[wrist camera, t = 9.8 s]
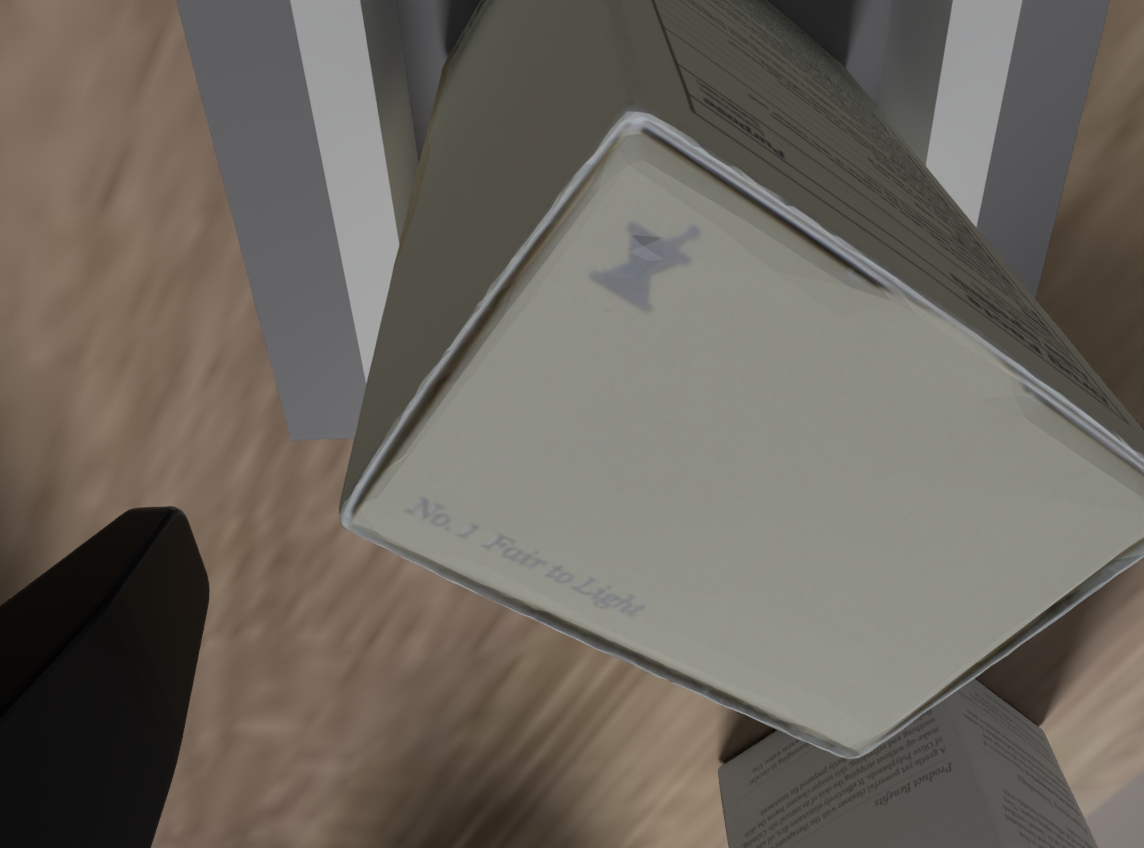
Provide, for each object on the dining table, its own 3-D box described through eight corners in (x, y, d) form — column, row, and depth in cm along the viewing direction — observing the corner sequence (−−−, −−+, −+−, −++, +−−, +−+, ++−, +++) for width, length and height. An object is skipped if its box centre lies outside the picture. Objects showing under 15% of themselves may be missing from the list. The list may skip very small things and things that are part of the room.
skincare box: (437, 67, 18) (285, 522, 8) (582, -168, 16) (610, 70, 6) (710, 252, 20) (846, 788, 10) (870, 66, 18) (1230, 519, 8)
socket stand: (300, 414, 24) (258, 530, 21) (70, -507, 14) (-74, -562, 11) (992, 386, 23) (1060, 499, 20) (1219, -579, 14) (1415, -658, 11)
